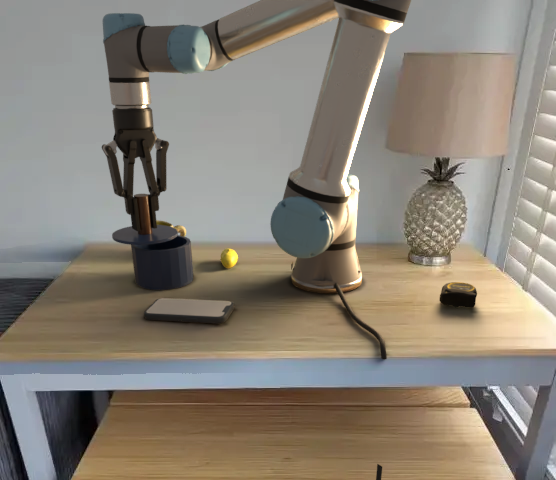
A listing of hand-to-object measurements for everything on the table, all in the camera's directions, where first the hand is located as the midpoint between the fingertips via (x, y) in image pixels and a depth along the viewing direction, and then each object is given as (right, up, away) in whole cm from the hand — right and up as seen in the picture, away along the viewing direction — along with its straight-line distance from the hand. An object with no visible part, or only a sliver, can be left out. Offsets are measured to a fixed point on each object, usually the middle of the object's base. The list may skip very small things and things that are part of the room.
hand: (144, 227), depth 128 cm
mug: (-1, -1, +23) cm, 23 cm away
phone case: (+11, -19, -10) cm, 24 cm away
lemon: (+16, -5, +16) cm, 24 cm away
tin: (+3, -10, +7) cm, 12 cm away
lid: (0, -1, +1) cm, 2 cm away
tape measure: (+64, -17, -7) cm, 66 cm away
